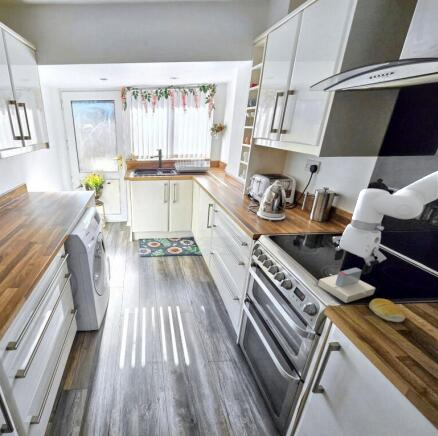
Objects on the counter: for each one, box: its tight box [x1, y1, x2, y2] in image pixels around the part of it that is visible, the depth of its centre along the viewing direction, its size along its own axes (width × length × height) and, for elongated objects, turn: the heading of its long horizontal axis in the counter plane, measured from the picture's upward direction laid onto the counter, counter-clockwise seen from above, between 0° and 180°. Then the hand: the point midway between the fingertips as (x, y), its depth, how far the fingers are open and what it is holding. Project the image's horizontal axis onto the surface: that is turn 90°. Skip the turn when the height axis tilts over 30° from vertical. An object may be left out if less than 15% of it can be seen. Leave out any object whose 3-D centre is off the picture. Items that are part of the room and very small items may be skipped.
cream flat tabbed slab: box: [317, 273, 376, 304], centre depth 93 cm, size 14×13×3 cm
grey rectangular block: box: [335, 267, 362, 287], centre depth 91 cm, size 9×2×6 cm, turn 107°
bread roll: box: [368, 298, 407, 323], centre depth 81 cm, size 8×9×4 cm
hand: (350, 266), depth 90 cm, fingers open, 9 cm apart
